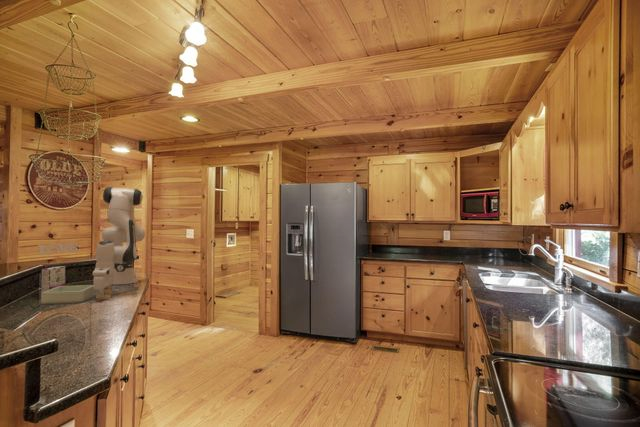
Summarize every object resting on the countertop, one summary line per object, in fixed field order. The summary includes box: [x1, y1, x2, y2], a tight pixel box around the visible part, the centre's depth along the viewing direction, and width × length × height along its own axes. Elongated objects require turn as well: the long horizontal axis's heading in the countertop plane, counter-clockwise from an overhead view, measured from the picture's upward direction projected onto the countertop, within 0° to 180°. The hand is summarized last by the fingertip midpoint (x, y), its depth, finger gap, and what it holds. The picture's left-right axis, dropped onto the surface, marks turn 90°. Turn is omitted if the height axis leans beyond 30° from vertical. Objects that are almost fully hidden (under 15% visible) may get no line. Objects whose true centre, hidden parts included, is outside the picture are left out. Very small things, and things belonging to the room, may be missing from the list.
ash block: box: [95, 287, 113, 300], centre depth 183 cm, size 4×6×5 cm
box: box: [40, 284, 97, 306], centre depth 178 cm, size 18×18×6 cm
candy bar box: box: [40, 265, 67, 294], centre depth 185 cm, size 11×5×16 cm, turn 179°
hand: (104, 295), depth 183 cm, fingers closed on ash block, 4 cm apart
